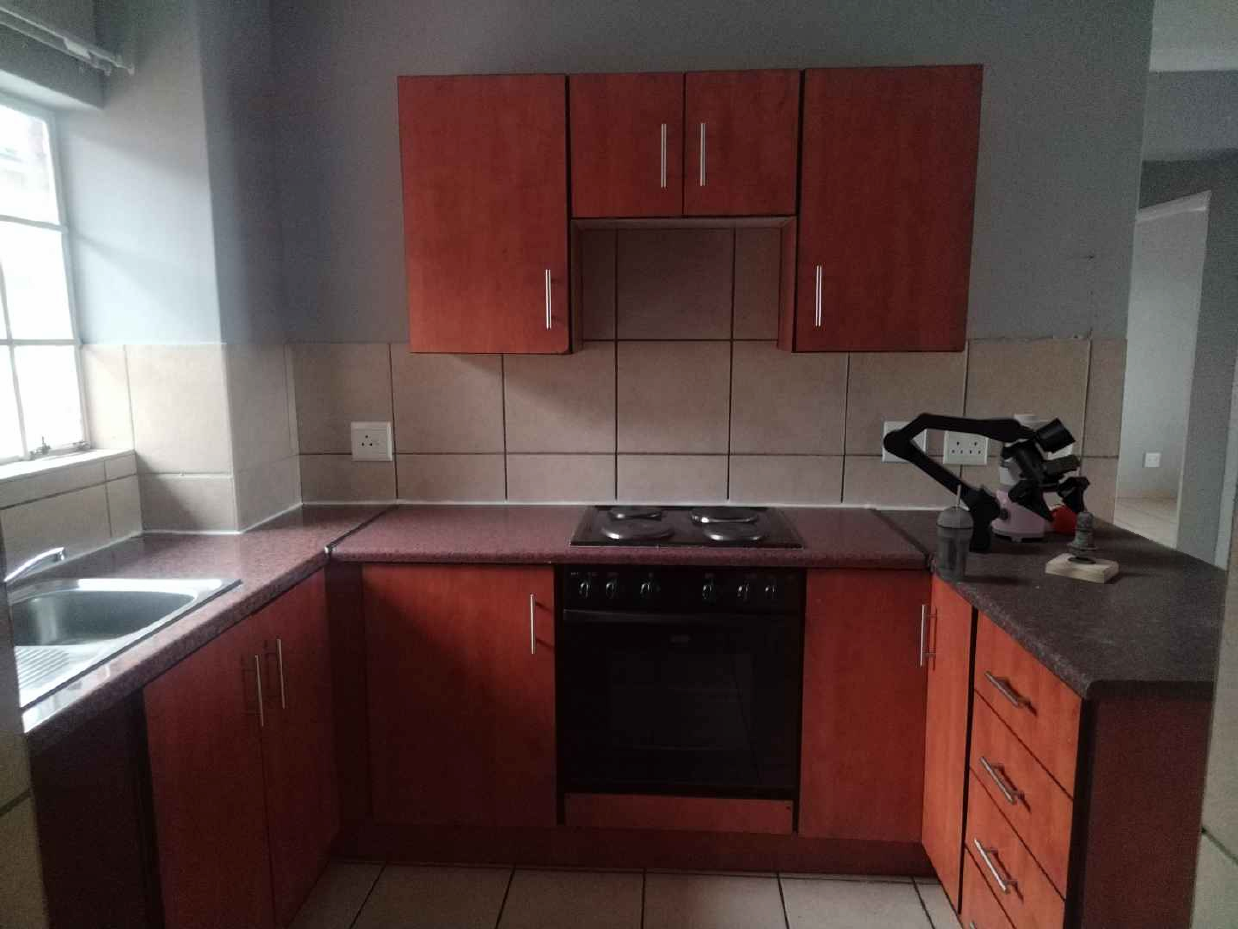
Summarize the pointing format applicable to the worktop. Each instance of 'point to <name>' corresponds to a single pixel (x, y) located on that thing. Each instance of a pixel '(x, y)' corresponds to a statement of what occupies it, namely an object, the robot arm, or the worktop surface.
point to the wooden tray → (1082, 569)
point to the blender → (1012, 516)
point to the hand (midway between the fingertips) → (1069, 520)
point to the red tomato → (1064, 520)
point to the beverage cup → (954, 540)
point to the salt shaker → (1083, 540)
